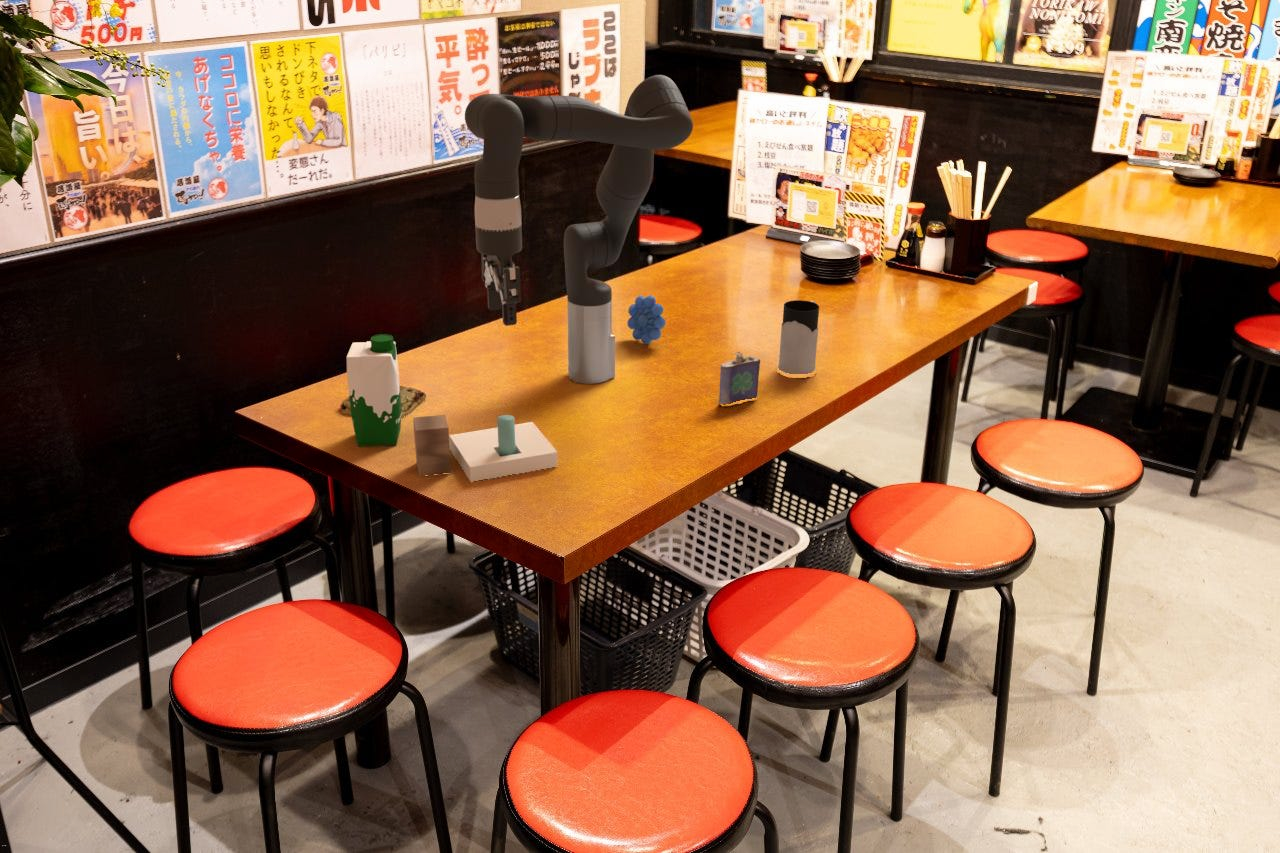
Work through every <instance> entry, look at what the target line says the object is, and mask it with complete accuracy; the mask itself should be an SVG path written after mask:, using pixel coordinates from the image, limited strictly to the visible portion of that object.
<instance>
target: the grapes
mask: <svg viewBox="0 0 1280 853" xmlns="http://www.w3.org/2000/svg"><path fill="white" fill-rule="evenodd" d="M663 313H664V306H663V305H662V304H660V303H657V299H656V298H655V296H653V295H651V294H649V295H647V296H646V297H645V296H644V295H638V296H637V297H636V298H635V301H634V303H633V304H631V305H630V306H629V307H628V315H629V316H630V317H629V318H628V320H627V327H628V328H629V329H630V330H633V331H632V333H631V334H632V338H633V339H634V340H636V341H641V343H642V344H644V345H646V344H647V345H650V344H651V343H652V342H653V341H658V340H659V339H660V338H661V336H662V331H661V330H662V329H664V327H665V325H666V319H665V318H664V316H661V315H663Z"/></svg>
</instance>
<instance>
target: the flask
mask: <svg viewBox="0 0 1280 853" xmlns="http://www.w3.org/2000/svg"><path fill="white" fill-rule="evenodd" d="M734 355H736V357H735V359H734V360H731V361H726V362H724V363H721V364H720V375H719V395H718V405H719V404H723V405H726V404H731V403H733V402H736V401H740V400H745V399H752V398H756V397H757V398H758V390H759V388H758V387H759V375H760V367H761V366H760V365H761V359H760V358H759V357H756V356H751V355H750V356H746V357H744V355H743V352H741V351H736V352H735V353H734Z"/></svg>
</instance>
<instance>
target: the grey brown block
mask: <svg viewBox="0 0 1280 853" xmlns="http://www.w3.org/2000/svg"><path fill="white" fill-rule="evenodd" d="M412 421H413V433H414V444H415V445H414V447H415V460H416V467H418V468H417V471H418V472H419V473H418V472H417V473H418V477H419V476H424V477H426V476H425V475H434V474H443V473H451V474H452V462H451V451H450V441H449V435H450V432H449V425H448V421H447V416H446V414H439V415H428V416H427V415H426V416H415V417H412ZM434 476H435V475H434Z"/></svg>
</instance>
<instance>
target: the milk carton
mask: <svg viewBox="0 0 1280 853" xmlns="http://www.w3.org/2000/svg"><path fill="white" fill-rule="evenodd" d="M396 344H397V343H396V341H394V336H393V335H391V334H386V333H384V334H383V333H382V334H381V333H380V334H375V335H373V336H371V337H370V340H369V341H368V340H367V341H366V342H364V341H363V342H361V341H360V342H358V341H357V342H352V344H351V346H350V348H349V350H348V353H347V355H346V376H347V378H346V379H347V387H348V397H349V398H350V407H351V415H350V416H351V423H352V426H353V430H354V431H353V432H354V434H355V441H356V444H357V447H379V446H378V445H391V446H397V445H398V444H397V443H398V440H399V436H400V432H401V427H402V426H401V425H402V419H401V413H402V409H401V396H400V386H401V385H400V374H399V365H398V364H399V362H398V354H397V347H396Z"/></svg>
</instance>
